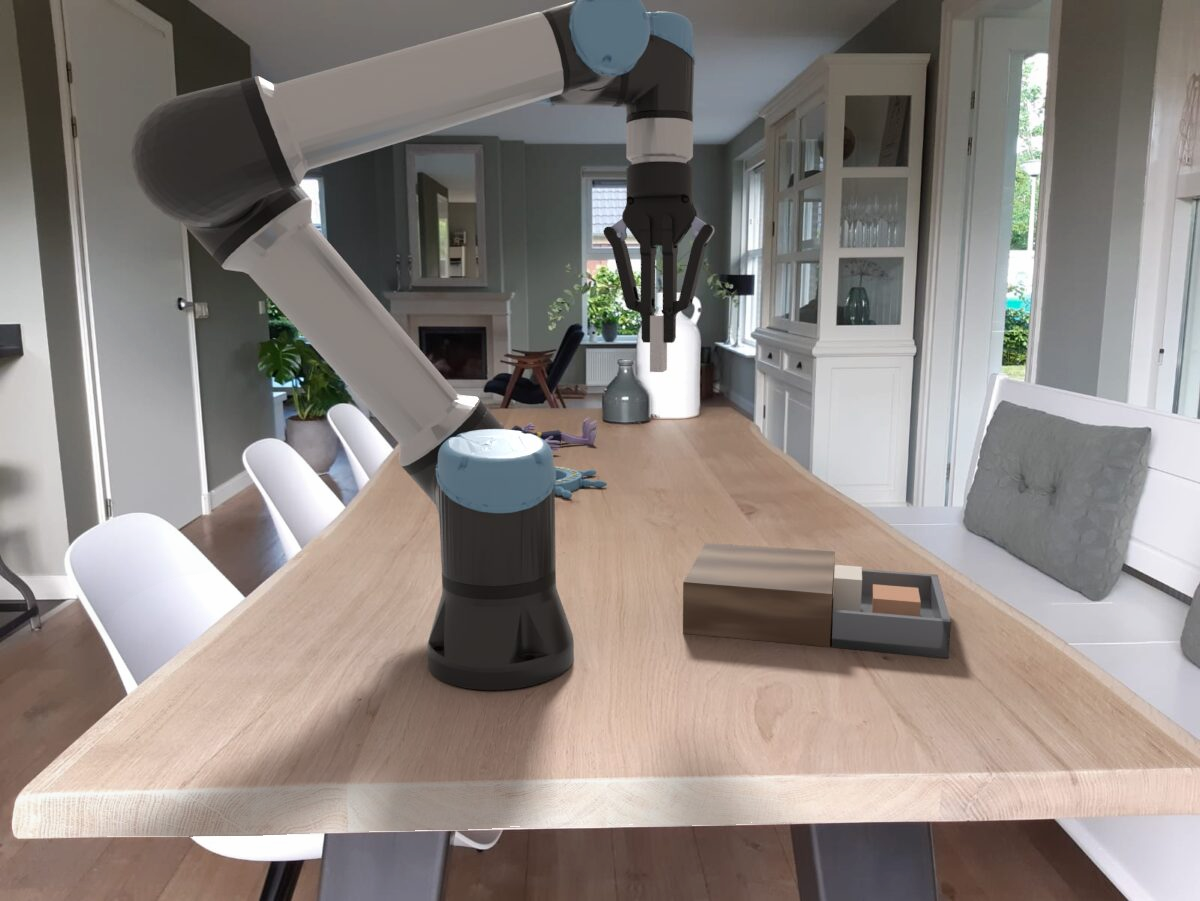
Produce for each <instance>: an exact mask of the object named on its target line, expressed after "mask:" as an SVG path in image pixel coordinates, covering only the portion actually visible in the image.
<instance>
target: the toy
mask: <svg viewBox="0 0 1200 901" xmlns="http://www.w3.org/2000/svg"><path fill="white" fill-rule="evenodd" d="M499 423H500V424H501V425H502V426H503V427H504V424H503V423H502V422H499ZM597 423H598V421H597V419H595V420H593V421H592V420H591V418H590V416H588V417H586V418H585V419H584V420H583V421H582V424H581V432H582V435H581V436H580V435H579V436H578V435H577V436H576V435H572V434H568V433H567V432H566V433H565V432H563V431H560V430H559V429H558V430H549V431H547V430H546V431H539V432H537V431H536V432H533V431H535V430H536V429H535V427H536V425H534V424H533V423H532V422H530V423H528V424H527V425H524V426H522V427H521V426H519V425H514V426H513V427H512V428H511V429H510V430H516V431H521V432H523V433H524V434H533V435H535V436H538V437H540V438H541V439H543V440H544V441H545V442H547V444H548V445H549V446H550V448H551V450H552V451H556V452H557V451H559V449H558V448H561V447H562V446H561V445H559V444H561V443H562V442H564V443H567V444H570V445H588V446H589V445H590V446H592V445H594V444H595V441H596V438H597V433H598V429H597V427H598V426H597V425H598V424H597Z"/></svg>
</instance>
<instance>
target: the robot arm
mask: <svg viewBox="0 0 1200 901" xmlns="http://www.w3.org/2000/svg"><path fill="white" fill-rule="evenodd" d="M694 39H695V38H694V29H693V25H692V22H691V20H690V19H689V18H687V17H686V16H685V15H683V14H680V13H677V12H672V11H656V12H655V11H654V12H651V11H649V12H647V8H646V7H645V5H644V3H643V2H642V0H575V1H571V2H568V3H564V4H561V5H557V6H553V7H550V8H547V9H545V10H541V11H537V12H534V13H529V14H526V15H521V16H518V17H515V18H512V19H511V18H510V19H507V20H503V21H501V22H500V21H499V22H496V23H492V24H489V25H486V26H482V27H479V28H474V29H471V30H468V31H464V32H459V33H456V34H453V35H450V36H446V37H442V38H439V39H438V38H437V39H434V40H431V41H428V42H427V41H426V42H424V43H419V44H416V45H412V46H410V47H409V46H408V47H405V48H402V49H399V50H395V51H394V50H393V51H391V52H388V53H384V54H380V55H377V56H373V57H370V58H366V59H365V58H364V59H363V60H360V61H359V60H358V61H355V62H352V63H348V64H345V65H344V64H343V65H340V66H338V67H337V66H336V67H334V68H330V69H326V70H322V71H319V72H316V73H315V72H314V73H312V74H308V75H304V76H301V77H297V78H294V79H289V80H287V81H286V80H285V81H283V82H279V83H273V82H270V81H269V80H266V79H265V78H263V77H261V76H259V75H257V76H252V77H247V78H245V79H241V80H238V81H234V82H230V83H225V84H221V85H217V86H212V87H208V88H204V89H203V88H202V89H200V90H196V91H191V92H187V93H183V94H179V95H176V96H173V97H171V98H168V99H166V100H164V101H162V102H160V103H158V104H156V105H155V106H153V107H152V108H150V110H149V111H147V112H146V114H145V115H144V116H143V117H142V119H141V120H140V121H139V123H138V124H137V126H136V128H135V129H134V133H133V137H132V140H131V142H130V165H131V169H132V173H133V175H134V177H133V178H134V179H135V181H136V184H137V186H138V188H139V189H140V191H141V193H142V194H143V196H144V197H145V198H146V200H148V202H150V204H152V205H153V206H154V208H156V209H157V210H158V211H159V212H161V213H163V215H165V216H167V217H169V218H170V219H172V220H174V221H176V222H179V223H182V224H181V225H183V226H184V227H185V228H186V229H187V230H188V231H189V232H190V233H191V234H192V236H194V238H195V239H196V240H197V241H198V242H199V243H200V245H201V246H202V247H203V248H204V249H205V250H206V251H207V252H208V253H209V254H210V256H211V257H212V258H213V259H214V260H215V261H216V262H217V263H218V265H219V266H221V267H222V269H224V270H227V271H234V272H242V273H244V274H247V275H249V277H250V278H251V279H252V280H253V281H254V283H255V284H256V285H257V286H258V287H259V288H260V290H262V291H263V292H264V294H266V296H267V298H269V299H270V300H271V301H272V302H273V304H274V305H275V306H276V307H277V308H278V309H279V310H280V311H281V312H282V313H283V315H284V316H285V317H286V318H287V319H288V321H289V322H290V323H291V324H292V325H293V326H294V327H295V328H296V329H297V330H298V332H299V333H300V334H301V335H302V337H304V339H305V340H307V342H308V343H309V344H310V345H311V346H312V347H313V349H315V351H316V352H317V353H318V354H319V355H320V356H321V357H322V358H323V360H324V361H325V362H326V363H327V364H328V365H329V367H330V368H331V369H332V370H333V371H334V372H335V373H336V374H337V375H338V377H340V379H341V380H342V381H343V382H344V383H345V384H346V385H347V387H348V388H349V389H350V390H351V392H353V393H354V394H355V396H356V397H358V399H359V400H360V401H361V402H362V403H363V404H364V406H365V407H366V408H367V409H368V410H369V412H371V414H372V415H373V416H374V417H375V418H376V419H377V420H378V421H379V422H380V423H381V425H382V426H383V428H385V429H386V431H388V432H389V433H390V435H391V436H392V437H393V438H394V439H395V441H396V442H397V443H398V445H399V448H398V450H399V452H398V464H399V465H400V466H401V468H403V470H404V471H405V472H406V473H407V474H408V476H410V477H411V479H412V480H413V481H414V482H415V484H417V485H418V486H419V488H420V489H422V490H421V491H423V492H424V493H425V495H426V496H427V497H428V498H429V499H430V500H431V501H432V502H433V504H434V505H435V507H436V510H437V514H438V519H439V521H438V522H439V535H440V537H439V538H440V562H441V585H442V586H441V587H442V588H441V589H442V590H441V596H440V599H439V603H438V606H437V609H436V613H435V617H434V619H433V624H432V628H431V630H430V633H429V637H428V640H427V665H428V666H427V667H428V669H429V671H430V673H431V674H432V675H433V676H434V677H435V678H437V679H438V680H440V681H441V682H444V683H447V684H450V685H453V686H456V687H460V688H464V689H471V690H479V691H480V690H482V691H483V690H484V691H499V690H501V691H502V690H503V691H504V690H515V689H522V688H526V687H531V686H534V685H535V686H536V685H539V684H541V683H545V682H548V681H550V680H551V681H552V680H553V679H555V678H557V677H558V676H559V677H560V675H562V674H564V673H565V672H566V671H567V670H568V669H570V667H571V666H572V664H573V662H574V660H575V659H574V658H575V646H574V644H575V640H574V634H573V631H572V629H571V625H570V624H569V621H568V620H569V619H568V618H567V615H566V612H565V609H564V605H563V604H562V603H563V602H562V600H561V598H560V594H559V592H558V588H557V576H556V575H557V574H556V573H557V572H556V570H557V569H556V566H557V565H556V562H557V561H556V506H555V505H556V504H555V503H556V498H555V497H556V495H555V483H556V480H557V479H556V469H555V463H554V455H553V450H551V448H552V447H551V448H550V446H549V445H548V444H547V442H545V441H544V440H543V439H541V438H540V437H538V436H535V435H533V434H524V433H523V432H521V431H516V430H511V429H506V428H505V427H504V425H503V426H502V425H501V424H500V423H501V422H500V421H499V420H498V419H497V418H496V417H495V415H493V413H492V412H491V411H490V410H489V408H487V406H486V405H485V404H484V403H483V402H482V401H481V399H480V397H478V396H474V395H464V394H460V393H458V392H457V391H456V390H455V389H454V387H453V386H451V384H450V383H449V381H447V380H446V378H445V377H444V376H443V375H442V374H441V372H440V371H439V370H438V368H436V366H435V365H434V364H433V363H432V362H431V361H430V359H429V358H428V357H427V356H426V355H425V353H423V351H422V350H421V349H420V348H419V347H418V345H417V344H416V343H415V341H414V340H412V338H411V336H409V335H408V334H407V332H406V331H405V330H404V329H403V327H401V325H400V324H399V323H398V322H397V321H396V319H395V318H394V317H393V316H392V315H391V313H390V312H389V311H388V310H387V308H385V307H384V305H383V304H382V303H381V302H380V301H379V299H378V298H377V297H376V296H375V294H374V293H372V291H371V290H370V289H369V288H368V287H367V286H366V284H365V283H364V281H363V280H361V278H360V277H359V276H358V275H357V273H355V271H354V270H353V269H352V268H351V267H350V265H349V264H348V263H347V261H345V260H344V259H343V257H342V256H341V255H340V254H339V253H338V251H337V250H336V249H335V247H333V246H332V244H331V243H330V242H329V241H328V240H327V238H326V237H325V236H324V235H323V234H322V232H321V231H320V230H319V229H318V228H317V226H316V225H315V224H314V223H313V219H312V204H313V201H312V199H311V198H310V196H309V195H308V194H307V193H306V191H305V190H304V189H303V188H302V187H301V186H300V185H301V183H302V181H303V179H304V177H305V175H306V173H307V172H308V171H309V170H312V169H316V168H319V167H320V168H321V167H322V166H326V165H330V164H333V163H336V162H339V161H342V160H345V159H349V158H353V157H356V156H359V155H361V154H366V153H369V152H373V151H375V150H378V149H383V148H385V147H389V146H391V145H395V144H398V143H402V142H405V141H406V142H407V141H409V140H411V139H415V138H418V137H422V136H425V135H428V134H432V133H436V132H439V131H442V130H446V129H449V128H451V127H455V126H458V125H461V124H462V125H463V124H464V123H468V122H472V121H476V120H479V119H482V118H485V117H489V116H492V115H495V114H498V113H502V112H505V111H508V110H512V109H515V108H518V107H521V106H525V105H528V104H542V105H549V106H550V107H555V106H587V107H588V106H590V107H592V106H593V107H612V108H625V111H626V112H625V114H626V117H625V118H626V120H625V122H626V143H625V144H626V148H625V149H626V150H625V151H626V160H628V161H629V162H630V163H631V164H629V165H628V166H627V168H626V202H625V203H626V204H625V207H624V209H623V211H622V214H621V216H622V218H621V219H619V220H618V221H617V222H615V223H614V224H612V225H611V226H605V228H604V229H603V235H604V236H605V238H606V239H607V241H608V243H609V245H610V246H611V249H612V252H613V257H614V261H615V264H616V269H617V273H618V279H619V281H620V283H619V284H620V287H621V290H622V295H623V299H624V304H625V307H626V309H628V310H632V311H634V312H637V313H638V314H639V315H640V316H641V336H640V337H641V340H642V343H649V373H664V372H666V371H667V370H668V344H669V343H670V344H672V343H675V340H676V337H677V336H676V335H677V334H676V333H677V331H676V327H677V325H676V324H677V315H678V314H679V313H680V312H682V311H685V310H688V309H690V308H692V305H693V301H694V297H695V292H696V290H697V286H698V281H699V278H700V274H701V270H702V269H701V268H702V265H703V261H704V257H705V252H706V249H707V246H708V245H709V243H710V241H711V240H712V238H713V237H714V236H715V233H716V228H715V227H714V225H711V224H707V223H706V222H704V221H703V220H702V219H700V218H698V217H697V216H698V215H697V214H698V213H697V211H696V208H695V206H694V203H693V170H694V169H693V167H692V165H691V164H689V161H691V159H692V158H694V114H693V113H694V111H693V108H694V84H695V83H694V81H695V79H694V78H695V65H696V57H695V40H694ZM691 228H692V232H691V236H692V238H693V239H694V240H693V242H692V246H691V250H690V253H689V256H688V261H687V264H686V265H687V266H686V268H685V269H686V270H685V274H684V278H683V280H682V281H683V282H682V286H681V290H680V295H679V299H678V297H677V296H678V254H679V253H678V252H679V244H680V243H681V242H682V240H683V239H684V238H685V236H686V234H687V233H688V232H689V230H690V229H691ZM627 229H628V230H629V232H630V233H631V234H632V236H633V237H634V239H635V240H636V242H637V243H638V245H639V255H640V296H639V292H638V288H637V283H636V278H635V274H634V271H633V266H632V261H631V258H630V253H629V249H628V244H627V242H626V241H625V240H627V238H628V234H627V233H628V232H627ZM660 246H661V254H662V309H661V313H662V314H655V313H656V311H657V308H656V256H657V247H660Z"/></svg>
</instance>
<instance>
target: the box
mask: <svg viewBox="0 0 1200 901" xmlns="http://www.w3.org/2000/svg"><path fill="white" fill-rule="evenodd" d="M873 584H876V585H888V586H901V587H913V588H918V590H919V595H920V601H921V606H920V617H918V616H906V615H894V614H882V613H872V590H873ZM943 593H944V592H943V590H942V586H941V583H940V579H939V574H932V573H921V572H906V571H895V570H894V571H891V570H881V569H879V570H878V569H863V568H862V593H861V612H858V611H847V610H835V609H833V608H832V627H831V635H832V636H831V648H832V649H833V648H835V649H843V650H844V649H845V650H854V651H865V652H866V651H867V652H878V653H888V654H898V655H907V656H910V655H911V656H918V657H930V658H940V659H949V657H950V656H949V655H950V643H951V642H950V640H951V639H950V638H951V624H952V622H951V618H950V614H949V611H948V606H947V603H946V599H945V596H944V594H943Z"/></svg>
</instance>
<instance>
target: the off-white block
mask: <svg viewBox="0 0 1200 901" xmlns="http://www.w3.org/2000/svg"><path fill="white" fill-rule="evenodd" d="M862 569H863V567H862V566H856V565H855V566H854V565H842V564H834V588H833V606H832V610H833V609H835V610H847V611H858V612H861V593H862Z"/></svg>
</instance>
